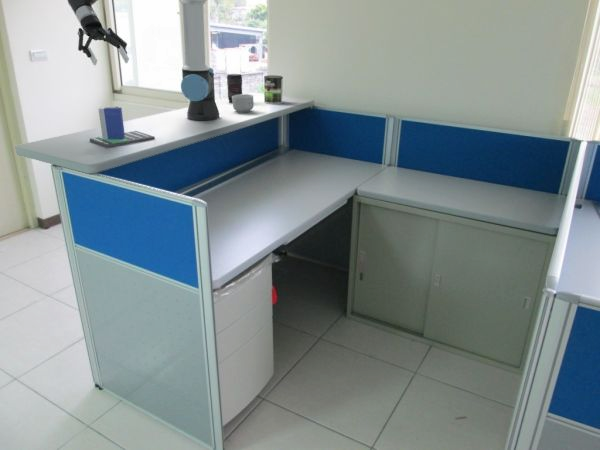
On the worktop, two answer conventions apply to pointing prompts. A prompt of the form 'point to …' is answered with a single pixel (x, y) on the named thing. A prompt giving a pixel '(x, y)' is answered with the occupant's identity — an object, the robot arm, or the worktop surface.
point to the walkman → (111, 123)
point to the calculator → (129, 139)
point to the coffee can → (273, 89)
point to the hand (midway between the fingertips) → (111, 62)
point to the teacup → (242, 102)
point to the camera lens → (234, 85)
